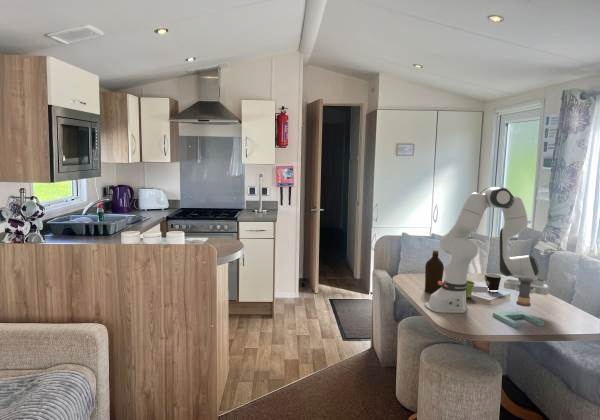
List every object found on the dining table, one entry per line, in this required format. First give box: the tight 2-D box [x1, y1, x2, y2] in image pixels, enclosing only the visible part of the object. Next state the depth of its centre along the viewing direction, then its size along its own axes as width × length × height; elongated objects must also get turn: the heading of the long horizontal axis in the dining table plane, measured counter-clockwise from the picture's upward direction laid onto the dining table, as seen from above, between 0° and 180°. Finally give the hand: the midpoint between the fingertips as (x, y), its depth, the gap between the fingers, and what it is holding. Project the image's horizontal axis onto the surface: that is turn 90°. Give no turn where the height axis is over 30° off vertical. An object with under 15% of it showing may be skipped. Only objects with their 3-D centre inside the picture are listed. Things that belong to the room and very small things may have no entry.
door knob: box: [515, 277, 533, 308], centre depth 226 cm, size 6×6×13 cm
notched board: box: [492, 310, 545, 329], centre depth 231 cm, size 17×16×2 cm
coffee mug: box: [484, 273, 502, 291], centre depth 282 cm, size 12×9×10 cm
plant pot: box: [466, 280, 476, 299], centre depth 268 cm, size 9×9×9 cm
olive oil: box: [424, 249, 445, 294], centre depth 275 cm, size 11×11×25 cm
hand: (524, 290), depth 225 cm, fingers closed on door knob, 5 cm apart
